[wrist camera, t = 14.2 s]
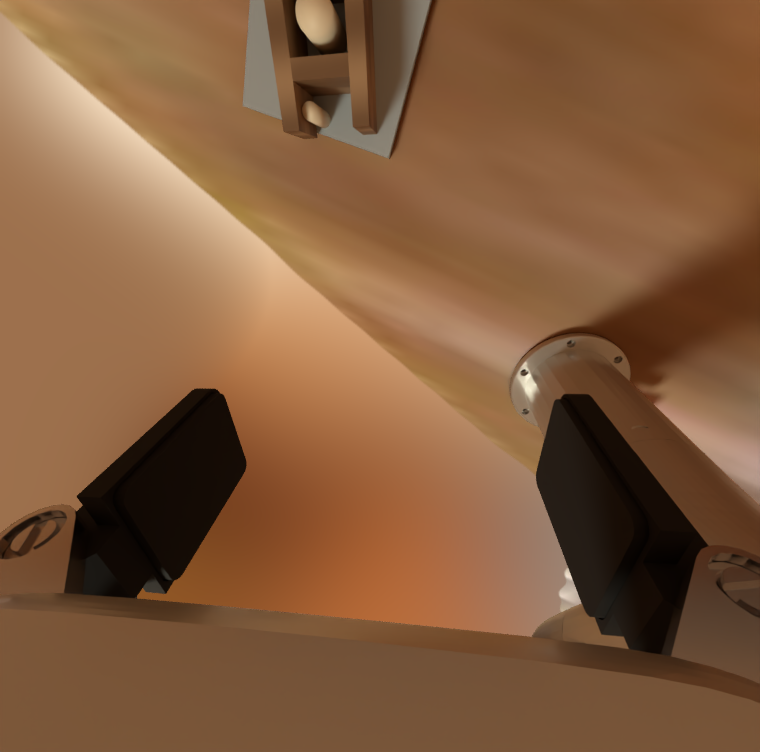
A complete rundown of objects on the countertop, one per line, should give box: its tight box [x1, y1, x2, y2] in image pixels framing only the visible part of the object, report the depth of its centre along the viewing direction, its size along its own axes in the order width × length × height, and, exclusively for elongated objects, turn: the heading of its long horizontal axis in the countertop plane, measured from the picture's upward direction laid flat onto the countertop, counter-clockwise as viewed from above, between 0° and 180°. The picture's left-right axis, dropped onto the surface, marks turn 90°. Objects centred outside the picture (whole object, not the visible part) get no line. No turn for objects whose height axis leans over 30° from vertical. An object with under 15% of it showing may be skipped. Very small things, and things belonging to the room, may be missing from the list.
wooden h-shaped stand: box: [264, 0, 377, 139], centre depth 24 cm, size 12×6×5 cm, turn 3°
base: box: [243, 0, 432, 159], centre depth 24 cm, size 13×13×6 cm
